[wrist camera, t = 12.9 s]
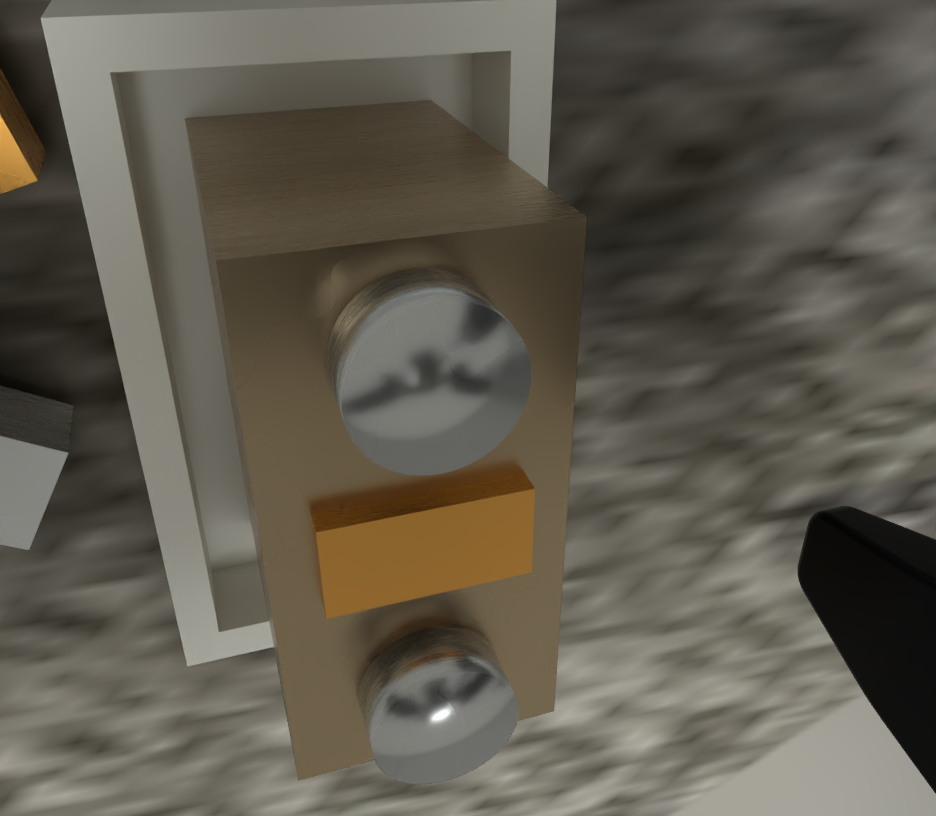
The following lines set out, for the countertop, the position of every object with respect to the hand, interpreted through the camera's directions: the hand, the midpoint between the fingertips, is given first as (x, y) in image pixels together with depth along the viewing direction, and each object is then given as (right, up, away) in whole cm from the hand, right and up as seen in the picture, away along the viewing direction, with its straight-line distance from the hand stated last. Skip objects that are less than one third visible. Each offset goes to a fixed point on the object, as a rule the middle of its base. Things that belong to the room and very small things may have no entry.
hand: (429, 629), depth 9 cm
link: (-2, +4, +5) cm, 7 cm away
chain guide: (-2, +4, +6) cm, 7 cm away
